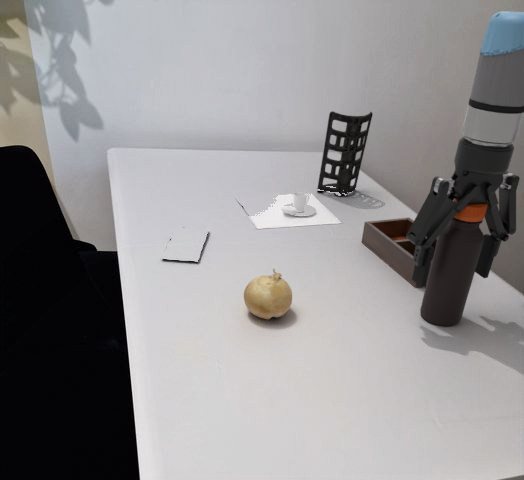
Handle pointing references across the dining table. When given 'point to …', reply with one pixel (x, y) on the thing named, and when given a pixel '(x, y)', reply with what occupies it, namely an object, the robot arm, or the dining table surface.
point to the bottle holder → (393, 245)
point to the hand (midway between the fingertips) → (450, 278)
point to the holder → (344, 152)
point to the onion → (268, 296)
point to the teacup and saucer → (293, 212)
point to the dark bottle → (453, 267)
